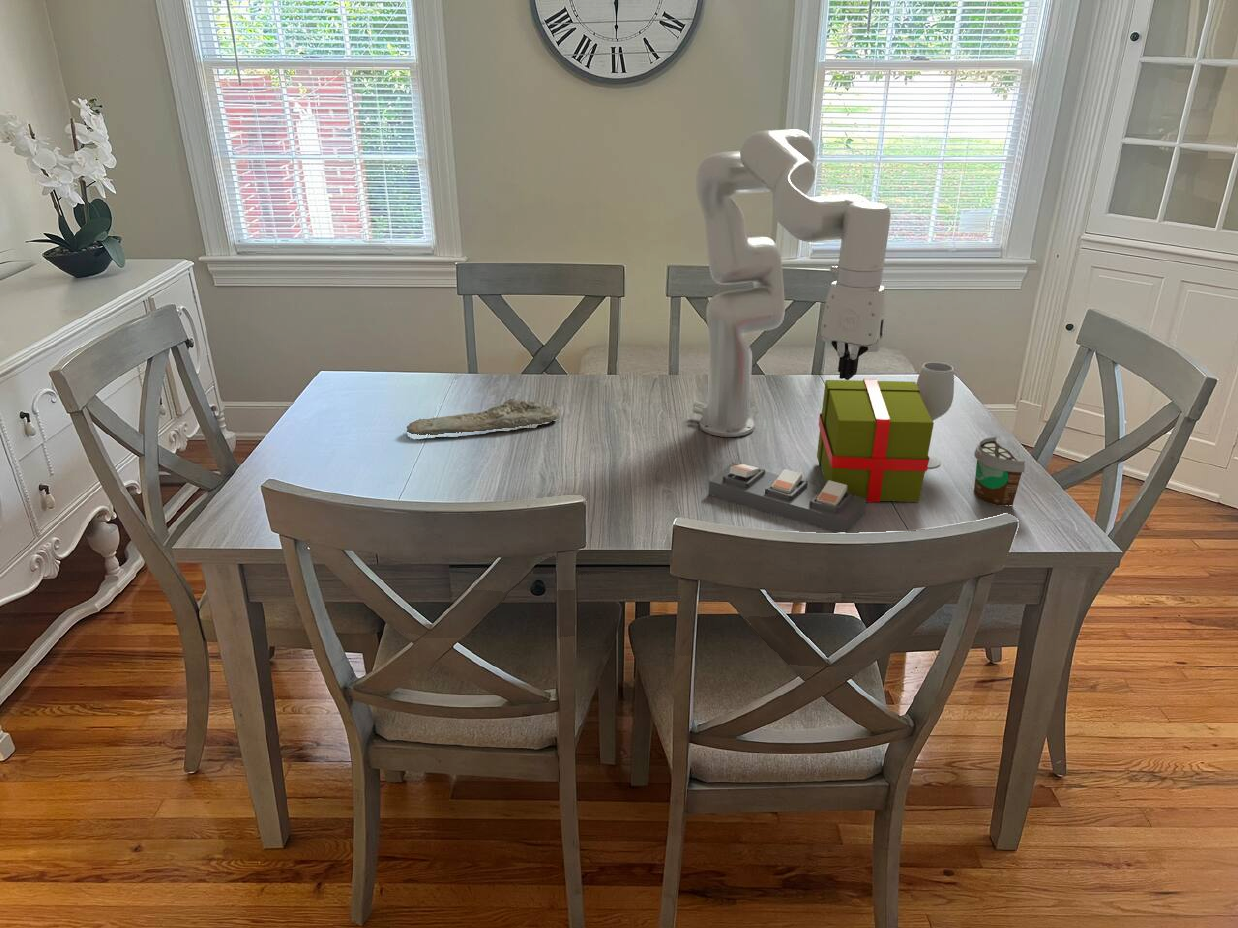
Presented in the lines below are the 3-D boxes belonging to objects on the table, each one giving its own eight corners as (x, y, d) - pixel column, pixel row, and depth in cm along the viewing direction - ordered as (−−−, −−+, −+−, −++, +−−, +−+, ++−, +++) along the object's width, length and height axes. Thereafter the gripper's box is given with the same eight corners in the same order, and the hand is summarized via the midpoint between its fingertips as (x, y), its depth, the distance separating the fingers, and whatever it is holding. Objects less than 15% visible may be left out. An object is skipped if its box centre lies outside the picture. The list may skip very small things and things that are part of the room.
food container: (956, 482, 178) (964, 436, 173) (986, 481, 178) (995, 435, 174) (984, 511, 167) (994, 463, 162) (1016, 510, 167) (1026, 462, 163)
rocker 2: (771, 490, 167) (771, 485, 166) (784, 473, 171) (784, 468, 170) (789, 495, 165) (789, 490, 164) (802, 478, 169) (801, 472, 168)
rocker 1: (729, 472, 171) (730, 466, 171) (741, 469, 175) (743, 463, 175) (746, 477, 169) (747, 470, 169) (758, 474, 174) (759, 467, 173)
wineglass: (922, 471, 182) (938, 375, 173) (896, 457, 188) (910, 364, 179) (949, 464, 185) (966, 369, 176) (922, 450, 191) (937, 358, 182)
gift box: (914, 520, 170) (890, 457, 192) (954, 426, 160) (923, 371, 182) (810, 500, 170) (798, 439, 192) (843, 405, 160) (826, 351, 181)
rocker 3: (816, 503, 163) (816, 498, 162) (828, 484, 166) (828, 479, 165) (835, 509, 161) (835, 503, 160) (847, 489, 164) (847, 484, 163)
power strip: (708, 494, 173) (709, 476, 171) (732, 475, 180) (733, 458, 179) (845, 534, 159) (847, 515, 157) (864, 512, 166) (867, 493, 164)
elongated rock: (406, 434, 204) (410, 453, 196) (402, 413, 201) (406, 432, 193) (553, 410, 212) (563, 427, 204) (552, 390, 210) (561, 407, 201)
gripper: (810, 275, 153) (799, 374, 161) (894, 288, 146) (879, 392, 154) (827, 266, 159) (816, 363, 167) (909, 279, 151) (893, 379, 159)
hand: (846, 377), depth 160 cm, fingers closed
